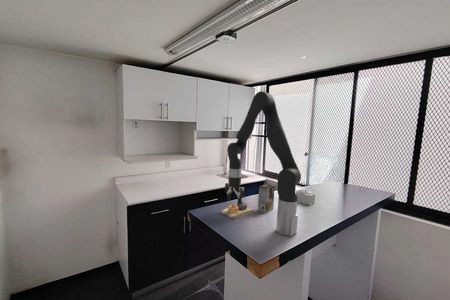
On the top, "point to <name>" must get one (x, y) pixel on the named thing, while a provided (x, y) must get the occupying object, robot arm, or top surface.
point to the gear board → (242, 211)
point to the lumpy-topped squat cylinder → (305, 196)
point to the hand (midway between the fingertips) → (234, 201)
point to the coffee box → (266, 198)
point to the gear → (233, 209)
